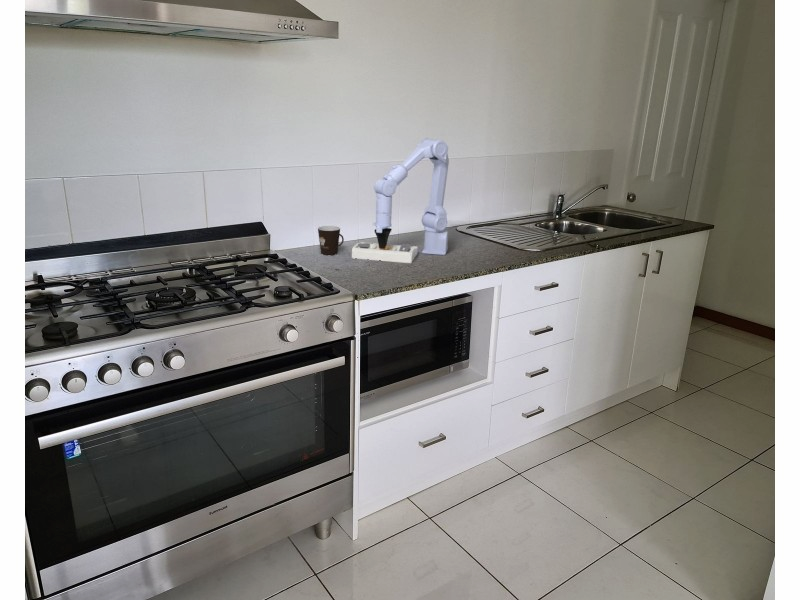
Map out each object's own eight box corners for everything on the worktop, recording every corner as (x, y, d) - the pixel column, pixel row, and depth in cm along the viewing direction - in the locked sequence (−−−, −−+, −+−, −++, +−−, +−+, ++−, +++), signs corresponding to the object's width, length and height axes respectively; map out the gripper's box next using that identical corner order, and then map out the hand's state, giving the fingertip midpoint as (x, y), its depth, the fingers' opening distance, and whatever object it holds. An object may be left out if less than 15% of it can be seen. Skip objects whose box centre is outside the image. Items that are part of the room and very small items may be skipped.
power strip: (417, 253, 228) (417, 244, 227) (411, 263, 215) (411, 252, 214) (361, 249, 232) (361, 239, 231) (351, 258, 219) (351, 248, 218)
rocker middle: (389, 249, 223) (389, 245, 222) (386, 250, 217) (386, 245, 217) (381, 248, 223) (381, 244, 223) (378, 249, 217) (378, 245, 217)
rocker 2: (410, 247, 221) (410, 243, 220) (407, 254, 216) (407, 250, 215) (402, 247, 222) (402, 243, 221) (399, 254, 217) (398, 250, 216)
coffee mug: (315, 251, 227) (315, 226, 223) (336, 249, 230) (336, 225, 227) (323, 259, 217) (323, 233, 213) (345, 257, 220) (345, 231, 217)
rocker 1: (369, 248, 224) (369, 243, 224) (365, 248, 218) (366, 244, 218) (361, 247, 224) (361, 243, 224) (357, 247, 219) (357, 243, 218)
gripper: (377, 208, 220) (376, 242, 225) (368, 214, 207) (367, 251, 211) (395, 209, 219) (394, 244, 224) (387, 216, 206) (386, 252, 210)
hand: (382, 247), depth 217 cm, fingers closed, pressing on rocker middle
